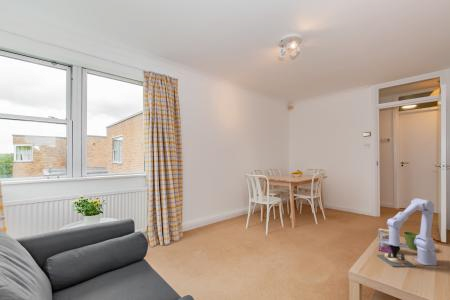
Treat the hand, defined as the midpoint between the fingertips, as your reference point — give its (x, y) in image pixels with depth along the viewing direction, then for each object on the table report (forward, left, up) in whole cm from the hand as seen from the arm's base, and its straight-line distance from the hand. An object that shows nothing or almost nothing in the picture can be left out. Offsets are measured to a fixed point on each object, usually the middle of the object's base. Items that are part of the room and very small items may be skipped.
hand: (394, 256), depth 145 cm
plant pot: (-32, -23, -6) cm, 40 cm away
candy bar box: (-9, -18, -6) cm, 21 cm away
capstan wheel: (-3, -4, -4) cm, 7 cm away
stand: (-3, -4, -5) cm, 7 cm away
